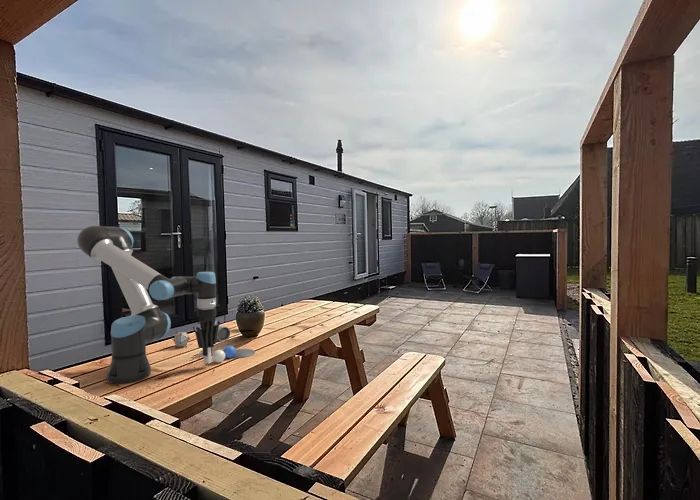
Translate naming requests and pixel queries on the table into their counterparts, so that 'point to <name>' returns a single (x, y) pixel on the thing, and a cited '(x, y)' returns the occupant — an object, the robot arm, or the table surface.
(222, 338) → the ceramic mug
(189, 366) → the table surface
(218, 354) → the white ball
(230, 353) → the blue ball
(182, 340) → the grey spiked polyhedron
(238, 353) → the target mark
